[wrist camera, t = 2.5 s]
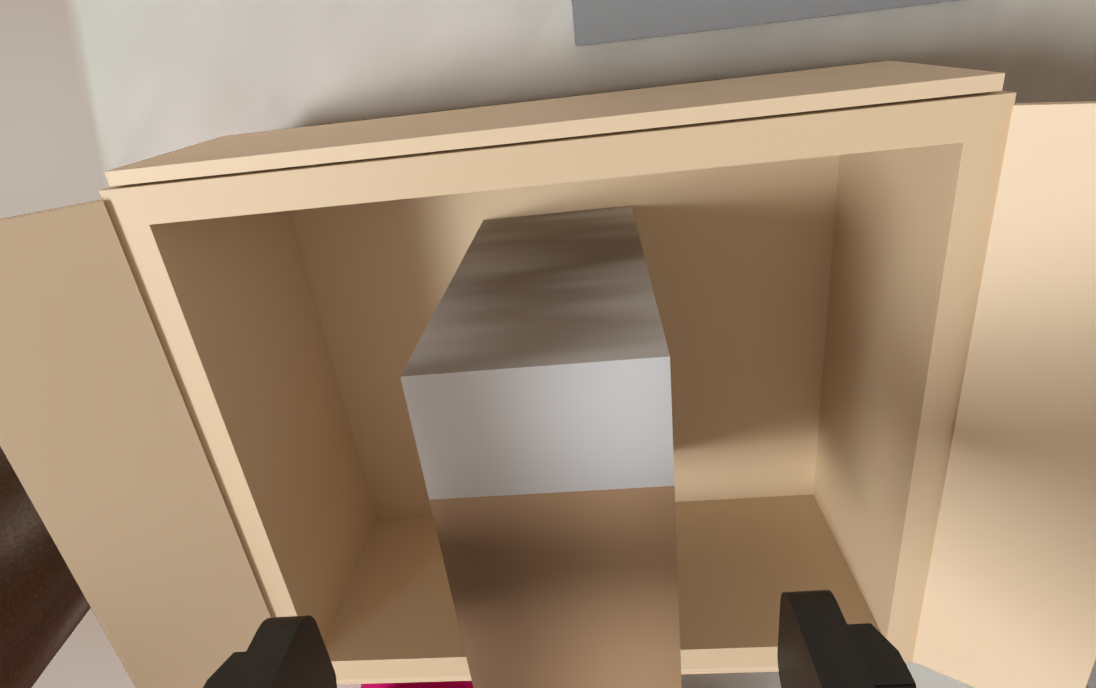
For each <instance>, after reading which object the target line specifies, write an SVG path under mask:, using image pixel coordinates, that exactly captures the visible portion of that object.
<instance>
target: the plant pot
mask: <svg viewBox="0 0 1096 688" xmlns="http://www.w3.org/2000/svg"><path fill="white" fill-rule="evenodd" d="M90 608H91V607H90V605H89V603H88V602H87V600H86V598H85V596H84V594H83V593H82V591H81V589H80V587H79V585H78V584H77V582H76V580H75V578H74V577H73V575H72V573H71V571H70V569H69V568H68V566H67V564H66V562H65V560H64V559H63V557H62V555H61V553H60V552H59V550H58V548H57V546H56V544H55V543H54V541H53V539H52V537H51V536H50V534H49V532H48V530H47V528H46V527H45V525H44V523H43V521H42V519H41V518H40V516H39V514H38V512H37V511H36V509H35V507H34V505H33V503H32V502H31V500H30V498H29V496H28V494H27V493H26V491H25V489H24V487H23V486H22V484H21V482H20V480H19V478H18V477H17V475H16V473H15V471H14V469H13V468H12V466H11V464H10V462H9V461H8V459H7V457H6V455H5V453H4V452H3V450H2V448H1V446H0V688H31V687H32V686H33V685H34V683H35V682H36V681H37V679H38V678H39V676H40V675H41V674H42V672H43V671H44V670H45V668H46V667H47V665H48V664H49V663H50V661H51V660H52V659H53V657H54V656H55V655H56V653H57V652H58V651H59V649H60V648H61V647H62V645H63V644H64V643H65V641H66V640H67V639H68V637H69V636H70V635H71V633H72V632H73V631H74V629H75V628H76V626H77V625H78V624H79V623H80V621H81V620H82V618H83V617H84V616H85V614H86V613H87V612H88V610H89V609H90Z"/></svg>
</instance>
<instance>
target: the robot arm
mask: <svg viewBox="0 0 1096 688" xmlns="http://www.w3.org/2000/svg"><path fill="white" fill-rule="evenodd" d="M777 659H778V670H779V676H780V682H781V686H782V688H916V683H915V681H914V680H913V678H912V676H911V674H910V672H909V670H908V668H907V666H906V664H905V662H904V660H903V658H902V656H901V654H900V652H899V651H898V650H897V649H896V648H895V647H894V646H893V645H892V644H891V643H890V642H889V641H888V640H887V639H886V638H885V637H884V636H883V635H882V634H881V633H880V632H879V631H878V630H877V629H876V628H875V627H874V626H873V625H872V624H871V623H864V624H847V623H846V620H845V618H844V616H843V614H842V612H841V609H840V607H839V605H838V603H837V601H836V599H835V597H834V595H833V593H832V592H831V591H830V590H814V591H795V592H783V593H782V594H781V599H780V615H779V633H778V651H777ZM203 688H337V681H336V674H335V671H334V668H333V665H332V662H331V660H330V657H329V654H328V652H327V649H326V646H325V644H324V641H323V638H322V636H321V633H320V630H319V628H318V625H317V623H316V620H315V619H314V618H313V617H312V616H310V615H308V616H289V617H271V618H267V619H265V620H264V621H263V622H262V623H261V625H260V626H259V628H258V630H257V632H256V634H255V635H254V637H253V639H252V641H251V643H250V645H249V647H248V649H247V651H246V652H234V653H233V654H232V655H231V656H230V657H229V658H228V659H227V660H226V661H225V662H224V663H223V664H222V665H221V666H220V667H219V668H218V669H217V670H216V671H215V672H214V673H213V674H212V675H211V677H210V678H209V679H208V680H207V681H206V683H205V685H204V687H203ZM1086 688H1096V659H1095V662H1094V665H1093V668H1092V671H1091V673H1090V676H1089V679H1088V682H1087V685H1086Z"/></svg>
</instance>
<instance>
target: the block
mask: <svg viewBox="0 0 1096 688" xmlns="http://www.w3.org/2000/svg"><path fill="white" fill-rule="evenodd" d="M400 378H401V382H402V387H403V391H404V395H405V399H406V404H407V408H408V412H409V416H410V421H411V425H412V429H413V433H414V438H415V442H416V446H417V450H418V455H419V459H420V463H421V467H422V472H423V476H424V480H425V484H426V489H427V493H428V497H429V501H430V506H431V510H432V514H433V518H434V522H435V527H436V531H437V535H438V539H439V544H440V548H441V552H442V556H443V561H444V565H445V569H446V573H447V578H448V582H449V586H450V590H451V595H452V599H453V603H454V607H455V612H456V616H457V620H458V624H459V629H460V633H461V637H462V641H463V646H464V650H465V654H466V658H467V663H468V667H469V671H470V675H471V680H472V684H473V688H682V681H681V653H680V625H679V596H678V568H677V540H676V512H675V483H674V455H673V427H672V398H671V370H670V354H669V350H668V347H667V343H666V339H665V335H664V331H663V327H662V323H661V319H660V315H659V311H658V307H657V304H656V300H655V296H654V292H653V288H652V284H651V280H650V276H649V272H648V268H647V264H646V261H645V257H644V253H643V249H642V245H641V241H640V237H639V233H638V229H637V225H636V221H635V217H634V214H633V210H632V206H622V207H612V208H601V209H591V210H581V211H570V212H560V213H550V214H539V215H529V216H519V217H509V218H498V219H488V220H483V222H482V223H481V225H480V227H479V229H478V231H477V233H476V235H475V237H474V239H473V240H472V242H471V244H470V246H469V248H468V250H467V252H466V254H465V255H464V257H463V259H462V261H461V263H460V265H459V267H458V269H457V271H456V272H455V274H454V276H453V278H452V280H451V282H450V284H449V286H448V287H447V289H446V291H445V293H444V295H443V297H442V299H441V301H440V303H439V304H438V306H437V308H436V310H435V312H434V314H433V316H432V318H431V319H430V321H429V323H428V325H427V327H426V329H425V331H424V333H423V335H422V336H421V338H420V340H419V342H418V344H417V346H416V348H415V350H414V351H413V353H412V355H411V357H410V359H409V361H408V363H407V365H406V367H405V368H404V370H403V372H402V374H401V376H400Z"/></svg>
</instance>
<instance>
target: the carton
mask: <svg viewBox="0 0 1096 688" xmlns="http://www.w3.org/2000/svg"><path fill="white" fill-rule="evenodd" d="M1004 78H1005V73H1002V72H992V71H983V70H974V69H965V68H956V67H947V66H937V65H928V64H919V63H910V62H901V61H892V60H889V61H881V62H872V63H863V64H854V65H845V66H837V67H828V68H819V69H810V70H801V71H792V72H784V73H775V74H766V75H757V76H748V77H740V78H731V79H722V80H713V81H704V82H696V83H687V84H678V85H669V86H660V87H651V88H643V89H634V90H625V91H616V92H607V93H599V94H590V95H581V96H572V97H563V98H555V99H546V100H537V101H528V102H519V103H510V104H502V105H493V106H484V107H475V108H466V109H458V110H449V111H440V112H431V113H422V114H413V115H405V116H396V117H387V118H378V119H369V120H361V121H352V122H343V123H334V124H325V125H317V126H308V127H299V128H290V129H281V130H272V131H264V132H255V133H246V134H237V135H228V136H222V137H219V138H216V139H212V140H209V141H206V142H202V143H199V144H196V145H193V146H189V147H186V148H183V149H179V150H176V151H173V152H169V153H166V154H163V155H159V156H156V157H153V158H149V159H146V160H143V161H139V162H136V163H133V164H129V165H126V166H123V167H119V168H116V169H113V170H109V171H106V172H105V175H106V177H107V180H108V182H109V185H110V186H112V187H109V188H106V189H103V190H100V191H99V192H100V195H101V197H102V200H98V201H92V202H87V203H82V204H77V205H71V206H66V207H61V208H55V209H50V210H45V211H39V212H34V213H29V214H24V215H19V216H13V217H8V218H2V219H0V446H1V448H2V450H3V452H4V453H5V455H6V457H7V459H8V461H9V462H10V464H11V466H12V468H13V469H14V471H15V473H16V475H17V477H18V478H19V480H20V482H21V484H22V486H23V487H24V489H25V491H26V493H27V494H28V496H29V498H30V500H31V502H32V503H33V505H34V507H35V509H36V511H37V512H38V514H39V516H40V518H41V519H42V521H43V523H44V525H45V527H46V528H47V530H48V532H49V534H50V536H51V537H52V539H53V541H54V543H55V544H56V546H57V548H58V550H59V552H60V553H61V555H62V557H63V559H64V560H65V562H66V564H67V566H68V568H69V569H70V571H71V573H72V575H73V577H74V578H75V580H76V582H77V584H78V585H79V587H80V589H81V591H82V593H83V594H84V596H85V598H86V600H87V602H88V603H89V605H90V607H91V609H92V610H93V612H94V614H95V616H96V618H97V619H98V621H99V623H100V625H101V626H102V628H103V630H104V632H105V634H106V635H107V637H108V639H109V641H110V642H111V644H112V646H113V648H114V650H115V652H116V653H117V655H118V657H119V658H120V660H121V662H122V664H123V666H124V668H125V669H126V671H127V673H128V675H129V676H130V678H131V680H132V682H133V683H134V685H135V687H136V688H203V687H204V685H205V683H206V681H207V680H208V679H209V678H210V677H211V675H212V674H213V673H214V672H215V671H216V670H217V669H218V668H219V667H220V666H221V665H222V664H223V663H224V662H225V661H226V660H227V659H228V658H229V657H230V656H231V655H232V654H233V653H234V652H246V651H247V649H248V647H249V645H250V643H251V641H252V639H253V637H254V635H255V634H256V632H257V630H258V628H259V626H260V625H261V623H262V622H263V621H264V620H265V619H267V618H271V617H289V616H308V615H310V616H312V617H313V618H314V619H315V620H316V623H317V625H318V628H319V630H320V633H321V636H322V638H323V641H324V644H325V646H326V649H327V652H328V654H329V657H330V660H331V662H332V665H333V668H334V671H335V674H336V681H337V685H342V684H375V683H409V682H443V681H472V680H471V675H470V671H469V667H468V663H467V658H466V654H465V650H464V646H463V641H462V637H461V633H460V629H459V624H458V620H457V616H456V612H455V607H454V603H453V599H452V595H451V590H450V586H449V582H448V578H447V573H446V569H445V565H444V561H443V556H442V552H441V548H440V544H439V539H438V535H437V531H436V527H435V522H434V518H433V514H432V510H431V506H430V501H429V497H428V493H427V489H426V484H425V480H424V476H423V472H422V467H421V463H420V459H419V455H418V450H417V446H416V442H415V438H414V433H413V429H412V425H411V421H410V416H409V412H408V408H407V404H406V399H405V395H404V391H403V387H402V382H401V378H400V376H401V374H402V372H403V370H404V368H405V367H406V365H407V363H408V361H409V359H410V357H411V355H412V353H413V351H414V350H415V348H416V346H417V344H418V342H419V340H420V338H421V336H422V335H423V333H424V331H425V329H426V327H427V325H428V323H429V321H430V319H431V318H432V316H433V314H434V312H435V310H436V308H437V306H438V304H439V303H440V301H441V299H442V297H443V295H444V293H445V291H446V289H447V287H448V286H449V284H450V282H451V280H452V278H453V276H454V274H455V272H456V271H457V269H458V267H459V265H460V263H461V261H462V259H463V257H464V255H465V254H466V252H467V250H468V248H469V246H470V244H471V242H472V240H473V239H474V237H475V235H476V233H477V231H478V229H479V227H480V225H481V223H482V222H483V220H488V219H498V218H509V217H519V216H529V215H539V214H550V213H560V212H570V211H581V210H591V209H601V208H612V207H622V206H632V210H633V214H634V217H635V221H636V225H637V229H638V233H639V237H640V241H641V245H642V249H643V253H644V257H645V261H646V264H647V268H648V272H649V276H650V280H651V284H652V288H653V292H654V296H655V300H656V304H657V307H658V311H659V315H660V319H661V323H662V327H663V331H664V335H665V339H666V343H667V347H668V350H669V354H670V370H671V398H672V427H673V455H674V483H675V512H676V540H677V568H678V596H679V625H680V653H681V674H714V673H747V672H779V670H778V659H777V651H778V633H779V615H780V599H781V594H782V593H783V592H795V591H814V590H830V591H831V592H832V593H833V595H834V597H835V599H836V601H837V603H838V605H839V607H840V609H841V612H842V614H843V616H844V618H845V620H846V623H847V624H864V623H871V624H872V625H873V626H874V627H875V628H876V629H877V630H878V631H879V632H880V633H881V634H882V635H883V636H884V637H885V638H886V639H887V640H888V641H889V642H890V643H891V644H892V645H893V646H894V647H895V648H896V649H897V650H898V651H899V652H900V654H901V656H902V658H903V660H904V662H916V663H918V664H920V665H923V666H925V667H927V668H930V669H932V670H934V671H937V672H939V673H942V674H944V675H946V676H949V677H951V678H953V679H956V680H958V681H960V682H963V683H965V684H967V685H970V686H972V687H975V688H1086V685H1087V682H1088V679H1089V676H1090V673H1091V671H1092V668H1093V665H1094V662H1095V659H1096V101H1070V102H1033V103H1015V98H1016V92H1009V91H1003V90H1002V89H1003V84H1004Z"/></svg>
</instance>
